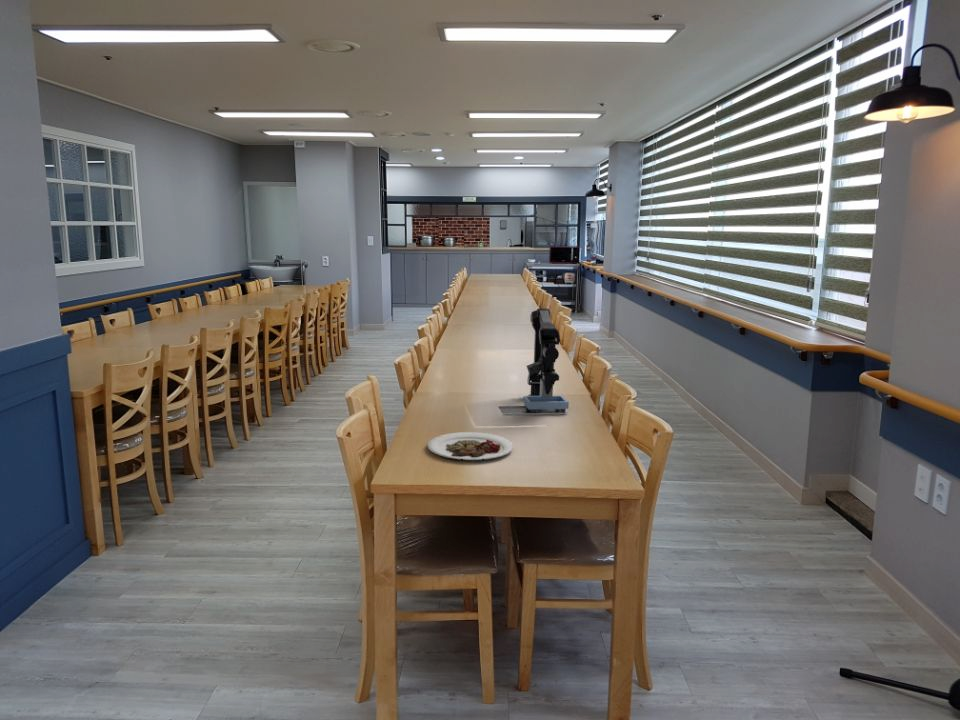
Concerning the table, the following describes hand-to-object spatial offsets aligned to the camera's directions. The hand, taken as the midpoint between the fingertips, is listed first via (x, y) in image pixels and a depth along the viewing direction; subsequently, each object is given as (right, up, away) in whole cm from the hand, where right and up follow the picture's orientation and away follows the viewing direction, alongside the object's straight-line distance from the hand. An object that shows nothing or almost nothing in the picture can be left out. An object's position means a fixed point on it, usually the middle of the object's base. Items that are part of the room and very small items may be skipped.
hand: (546, 392), depth 292 cm
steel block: (0, -2, 0) cm, 2 cm away
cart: (0, -8, +1) cm, 8 cm away
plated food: (-31, -18, -49) cm, 61 cm away
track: (-6, -8, +1) cm, 10 cm away
